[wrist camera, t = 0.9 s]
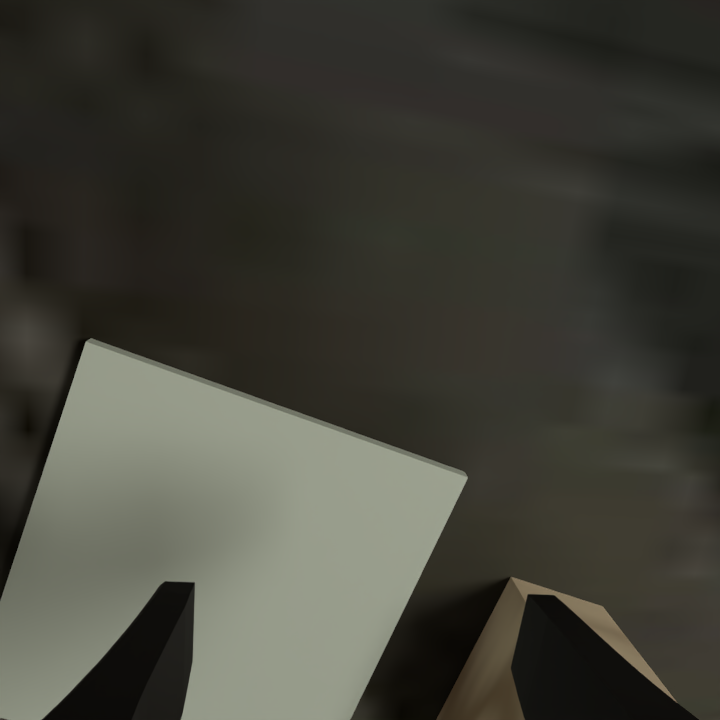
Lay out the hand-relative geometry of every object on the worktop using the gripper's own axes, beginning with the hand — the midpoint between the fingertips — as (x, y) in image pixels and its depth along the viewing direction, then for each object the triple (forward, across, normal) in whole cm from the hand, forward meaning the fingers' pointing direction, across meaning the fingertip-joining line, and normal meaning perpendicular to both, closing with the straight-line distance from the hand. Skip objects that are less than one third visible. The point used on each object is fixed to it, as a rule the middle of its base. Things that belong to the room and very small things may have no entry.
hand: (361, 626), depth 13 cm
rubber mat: (+9, +4, +6) cm, 11 cm away
